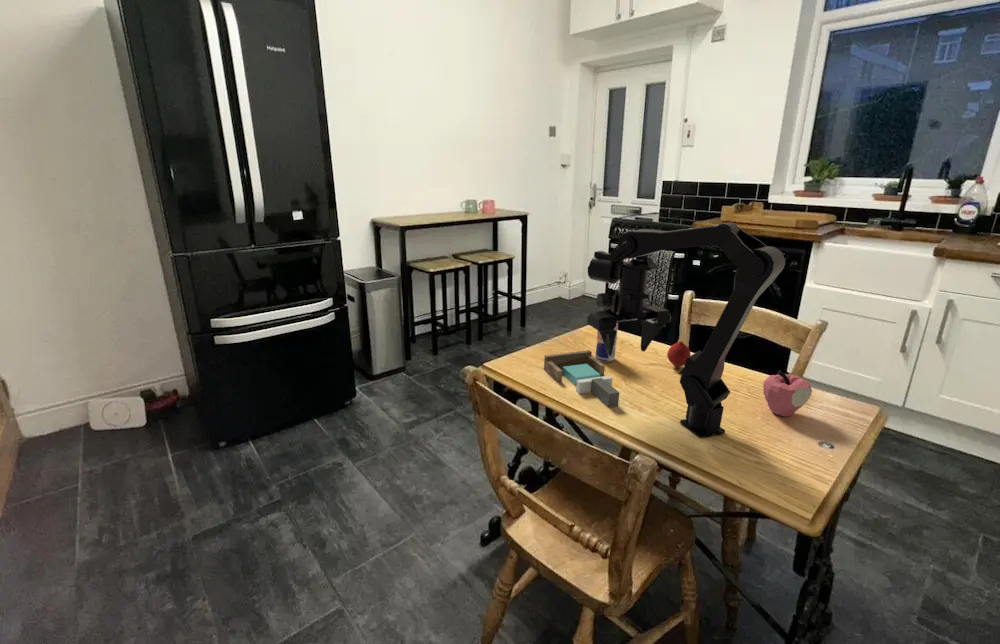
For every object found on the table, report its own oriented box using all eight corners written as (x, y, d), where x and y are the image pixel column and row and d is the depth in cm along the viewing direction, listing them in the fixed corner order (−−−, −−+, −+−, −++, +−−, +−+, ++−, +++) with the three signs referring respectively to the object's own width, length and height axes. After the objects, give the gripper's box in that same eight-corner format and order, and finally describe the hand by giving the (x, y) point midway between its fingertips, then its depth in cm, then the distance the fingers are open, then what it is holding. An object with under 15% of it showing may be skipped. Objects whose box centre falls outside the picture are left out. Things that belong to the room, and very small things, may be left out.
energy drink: (591, 356, 137) (595, 316, 133) (608, 354, 139) (612, 314, 135) (601, 363, 132) (604, 322, 128) (618, 361, 134) (622, 320, 130)
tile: (599, 383, 121) (600, 374, 120) (574, 386, 119) (575, 377, 118) (585, 372, 127) (586, 363, 127) (562, 375, 125) (562, 366, 124)
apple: (776, 424, 103) (786, 382, 99) (749, 405, 111) (757, 365, 107) (814, 420, 104) (825, 379, 101) (785, 402, 112) (794, 363, 109)
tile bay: (603, 375, 124) (605, 361, 123) (557, 382, 120) (558, 367, 119) (588, 363, 132) (589, 350, 130) (543, 369, 128) (544, 355, 126)
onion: (685, 363, 133) (689, 336, 131) (690, 372, 128) (695, 344, 125) (663, 362, 134) (667, 335, 131) (668, 371, 128) (672, 343, 126)
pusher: (629, 404, 110) (631, 390, 109) (595, 409, 107) (596, 395, 106) (608, 386, 119) (609, 373, 118) (575, 391, 116) (576, 378, 115)
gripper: (645, 277, 116) (638, 337, 120) (577, 282, 109) (573, 346, 114) (676, 287, 106) (668, 353, 110) (603, 294, 99) (597, 363, 104)
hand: (626, 353), depth 110 cm, fingers open, 9 cm apart
